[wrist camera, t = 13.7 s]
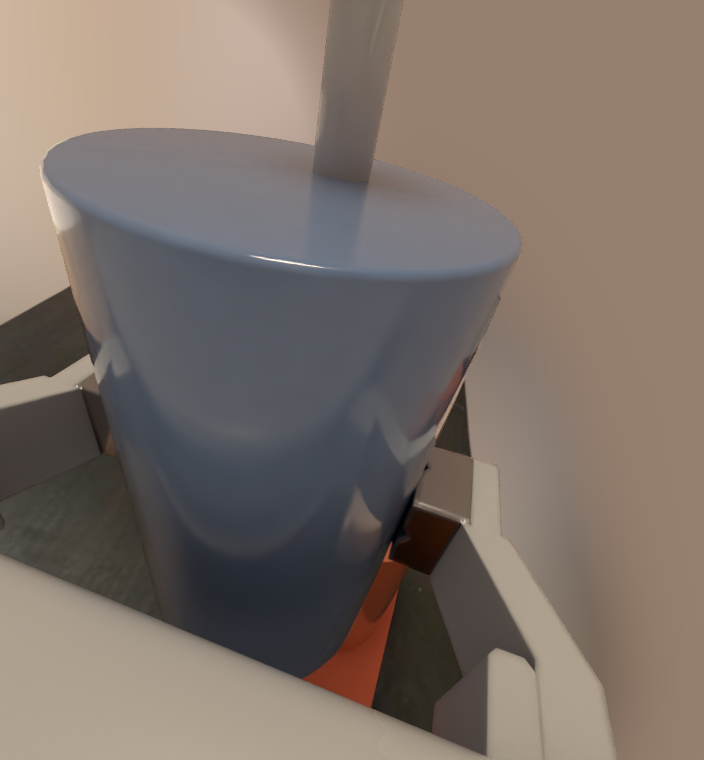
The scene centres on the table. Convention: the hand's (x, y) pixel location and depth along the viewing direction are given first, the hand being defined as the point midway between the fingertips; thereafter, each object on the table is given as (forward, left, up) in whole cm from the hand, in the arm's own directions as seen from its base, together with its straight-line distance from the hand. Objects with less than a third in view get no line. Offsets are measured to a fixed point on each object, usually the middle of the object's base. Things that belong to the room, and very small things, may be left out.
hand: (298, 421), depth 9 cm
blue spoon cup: (-1, 0, -5) cm, 5 cm away
